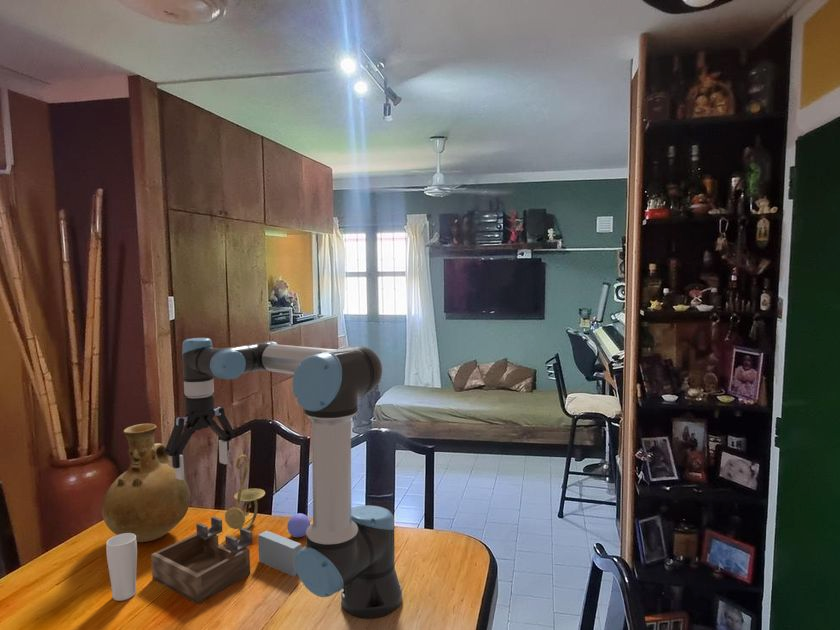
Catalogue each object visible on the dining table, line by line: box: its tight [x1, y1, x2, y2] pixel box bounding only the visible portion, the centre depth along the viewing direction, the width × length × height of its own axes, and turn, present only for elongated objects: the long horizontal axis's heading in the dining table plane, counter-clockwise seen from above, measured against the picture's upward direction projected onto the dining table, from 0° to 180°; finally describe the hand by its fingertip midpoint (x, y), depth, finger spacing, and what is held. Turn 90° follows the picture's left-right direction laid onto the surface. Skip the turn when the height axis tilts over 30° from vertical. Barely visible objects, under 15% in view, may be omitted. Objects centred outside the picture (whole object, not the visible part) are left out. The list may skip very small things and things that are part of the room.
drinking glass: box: [105, 533, 138, 602], centre depth 137 cm, size 7×7×15 cm
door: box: [257, 530, 302, 578], centre depth 151 cm, size 14×4×8 cm, turn 57°
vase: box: [101, 423, 191, 543], centre depth 166 cm, size 24×24×35 cm
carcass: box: [150, 516, 253, 605], centre depth 147 cm, size 20×18×11 cm
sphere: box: [286, 512, 311, 538], centre depth 168 cm, size 7×7×7 cm
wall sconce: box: [224, 454, 266, 531], centre depth 171 cm, size 14×10×25 cm
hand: (202, 470), depth 149 cm, fingers open, 13 cm apart
